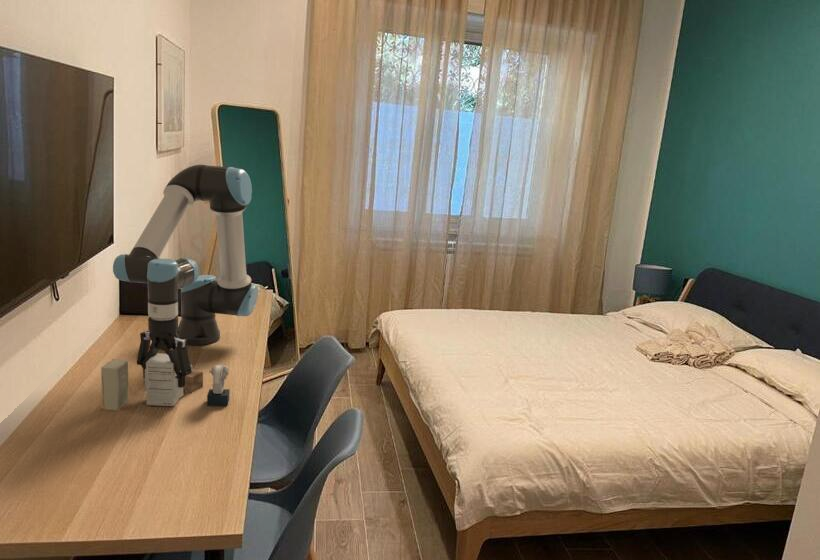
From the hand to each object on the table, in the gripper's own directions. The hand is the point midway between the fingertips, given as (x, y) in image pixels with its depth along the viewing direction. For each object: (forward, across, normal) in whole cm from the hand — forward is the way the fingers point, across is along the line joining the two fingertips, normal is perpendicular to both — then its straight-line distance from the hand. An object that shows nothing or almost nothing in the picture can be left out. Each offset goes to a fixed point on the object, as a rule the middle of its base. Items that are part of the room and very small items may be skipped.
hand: (164, 393), depth 166 cm
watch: (+3, +13, +7) cm, 15 cm away
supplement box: (+2, 0, 0) cm, 2 cm away
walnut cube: (+3, 0, +11) cm, 11 cm away
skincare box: (+3, -9, -8) cm, 12 cm away
